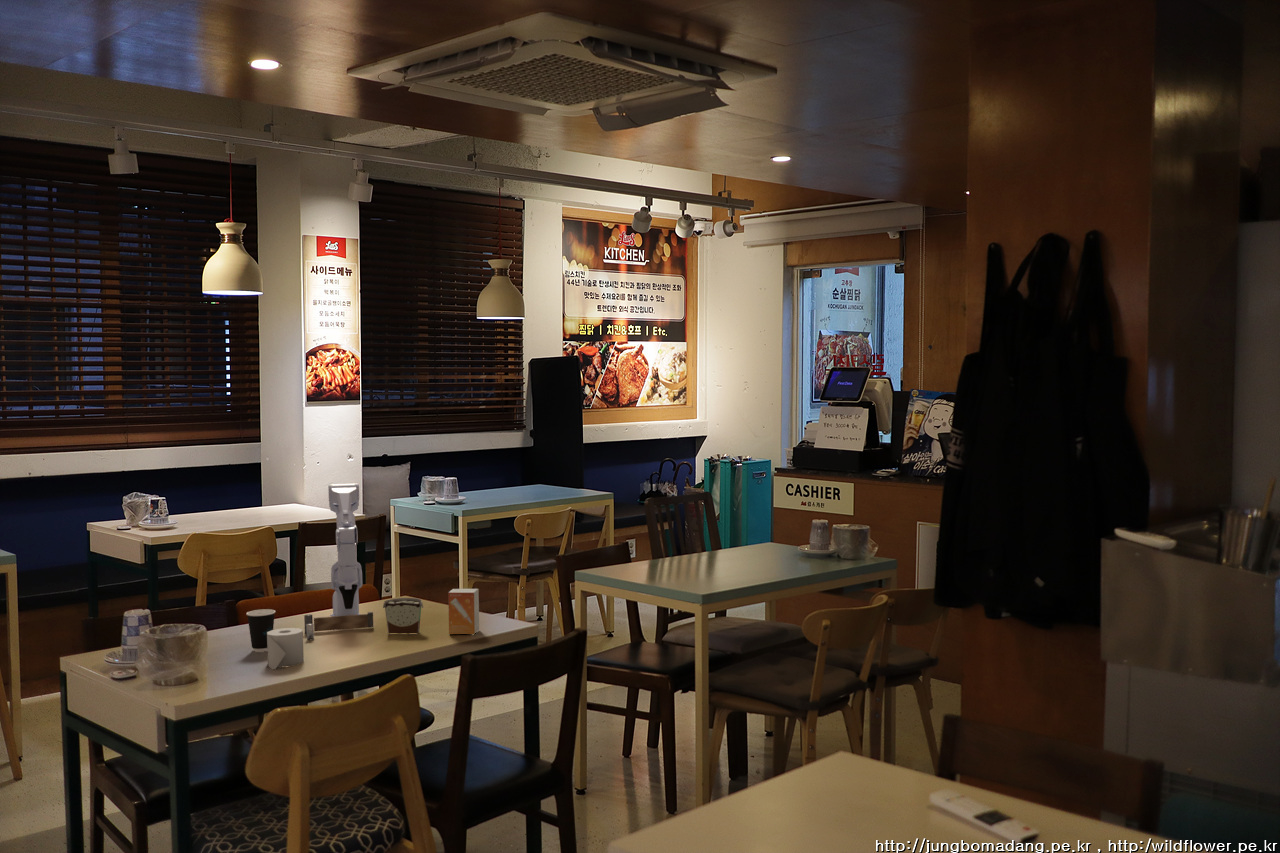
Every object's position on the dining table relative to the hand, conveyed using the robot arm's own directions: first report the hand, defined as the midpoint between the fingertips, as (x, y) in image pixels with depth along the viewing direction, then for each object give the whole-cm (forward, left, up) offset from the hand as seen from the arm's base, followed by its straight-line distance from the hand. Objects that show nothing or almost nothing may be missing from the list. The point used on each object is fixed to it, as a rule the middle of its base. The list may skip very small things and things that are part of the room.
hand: (348, 608), depth 341 cm
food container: (+18, +11, -6) cm, 22 cm away
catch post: (+9, -15, -6) cm, 19 cm away
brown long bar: (+4, -3, -5) cm, 7 cm away
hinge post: (0, -13, -6) cm, 14 cm away
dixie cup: (+13, -31, -6) cm, 34 cm away
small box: (+31, +24, -6) cm, 40 cm away
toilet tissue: (+34, -31, -6) cm, 46 cm away
